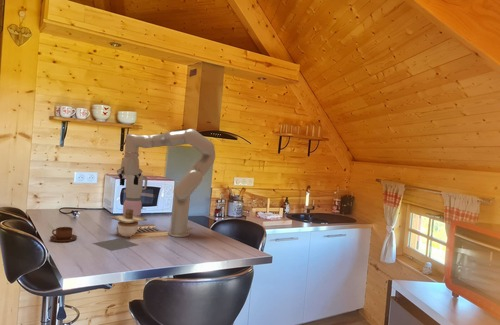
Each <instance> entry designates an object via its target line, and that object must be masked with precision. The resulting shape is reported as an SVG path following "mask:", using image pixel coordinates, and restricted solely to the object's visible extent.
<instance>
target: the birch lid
mask: <svg viewBox="0 0 500 325" xmlns="http://www.w3.org/2000/svg"><path fill="white" fill-rule="evenodd" d="M109 219H111V220H114V221H118V222H119V221H121V222H124V223H132V222H138V223H139V222H145V221H148V219H147V218H145V217H142V216H141V217H138V216H135V215H133V210H132V209H126V213H125V215H123V214H122V215H115V216H114V215H113V216H110V217H109Z"/></svg>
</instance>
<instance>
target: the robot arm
mask: <svg viewBox="0 0 500 325" xmlns="http://www.w3.org/2000/svg"><path fill="white" fill-rule="evenodd" d="M124 143H125V145H124V157H122V160H121V164H120V168H119V169H117V170H116V174H117V176H118V178H119V185H120V186H123V187H125V185H126V178H125V177H127V175H134V176H135V178H134V185H138V178H140V176H141V174H143V170H142V169H141V168H140V159H139V157H140V154H139V151H140V150H139V148H143V149H151V148H160V147H175V146H183V145H190V146H191V147H192V148H194V149H196V150H197V151H198V152H200V153H201V155H200V157H199V159H198V160H197V161H196V162H195V164H194V165H193V166H192V167H191V168H190V169H189V170H188V171H187V172H186V174H185V175H184V176H183V177H182V179H181V180H180V181H179V182H178V183H176V185H175V186H174V189H173V201H172V202H173V204H172V213H171V223H170V226H171V227H170V230H169V231H168V232H167V235H168V236H170V237H175V238H185V237H189V236H190V232H189V231H191V230H193V226H188V223H189V222H188V220H189V210H190V200H191V195H192V194H193V192H194V191H195V190H196V189H197V188H198V186H200V184H201V183H202V181H203V179H204V176H205V175H206V174H207V173H208V172H209V170H210V169H211V168H212V166H213V165H214V163H215V160H216V150H215V144H214V143H213V142H212V141H211V140H209V139H208V138H207V137H205V136H204V135H202V134H201V133H200V132H198V131H197V130H196V129H195V128H188V129H181V130H173V131H166V132H164V133H157V134H150V135H148V134H141V135H139V134H134V133H127V134H126V135H125V142H124Z"/></svg>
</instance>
